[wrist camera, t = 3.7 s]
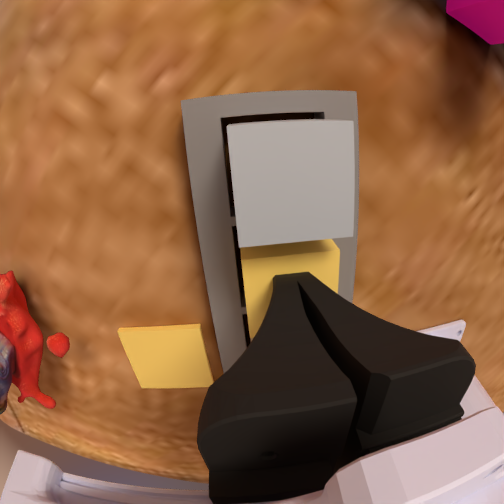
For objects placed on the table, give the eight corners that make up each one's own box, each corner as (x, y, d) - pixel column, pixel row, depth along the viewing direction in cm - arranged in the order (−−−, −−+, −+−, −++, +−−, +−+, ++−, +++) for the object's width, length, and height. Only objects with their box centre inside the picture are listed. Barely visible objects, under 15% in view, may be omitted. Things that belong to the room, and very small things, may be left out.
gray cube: (319, 201, 13) (353, 236, 9) (237, 208, 13) (239, 247, 9) (316, 119, 11) (353, 120, 8) (228, 124, 11) (226, 126, 8)
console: (336, 351, 18) (343, 369, 17) (226, 365, 18) (225, 384, 17) (343, 93, 12) (356, 91, 11) (186, 102, 12) (180, 100, 11)
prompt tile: (214, 382, 19) (214, 386, 19) (143, 383, 19) (141, 388, 18) (200, 323, 17) (199, 328, 17) (119, 327, 17) (117, 331, 16)
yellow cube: (313, 280, 16) (335, 327, 12) (245, 287, 16) (249, 338, 12) (313, 215, 14) (340, 250, 11) (238, 221, 14) (241, 259, 11)
